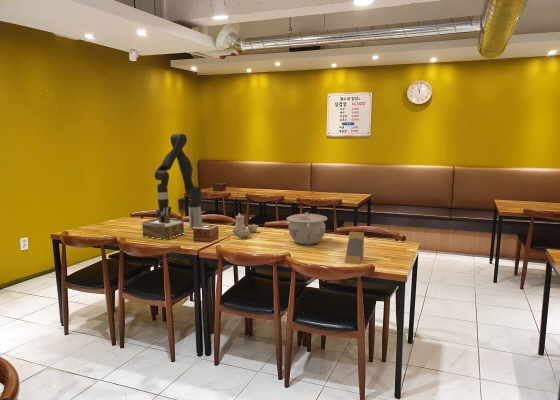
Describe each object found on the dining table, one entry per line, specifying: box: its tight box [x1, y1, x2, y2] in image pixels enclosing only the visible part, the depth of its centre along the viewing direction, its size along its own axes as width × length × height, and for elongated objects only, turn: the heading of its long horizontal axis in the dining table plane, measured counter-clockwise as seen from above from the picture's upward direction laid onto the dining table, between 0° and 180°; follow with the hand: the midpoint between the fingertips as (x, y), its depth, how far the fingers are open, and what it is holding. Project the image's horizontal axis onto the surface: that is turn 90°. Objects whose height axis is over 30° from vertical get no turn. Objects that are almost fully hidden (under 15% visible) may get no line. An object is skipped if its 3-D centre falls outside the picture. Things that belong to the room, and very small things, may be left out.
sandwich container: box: [344, 231, 365, 265], centre depth 235 cm, size 9×15×15 cm, turn 160°
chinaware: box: [232, 212, 259, 239], centre depth 299 cm, size 28×17×17 cm, turn 168°
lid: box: [149, 215, 184, 227], centre depth 299 cm, size 17×20×6 cm
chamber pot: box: [286, 211, 328, 246], centre depth 275 cm, size 28×28×21 cm
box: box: [141, 217, 185, 240], centre depth 300 cm, size 19×22×11 cm
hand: (164, 221), depth 299 cm, fingers closed on lid, 3 cm apart
